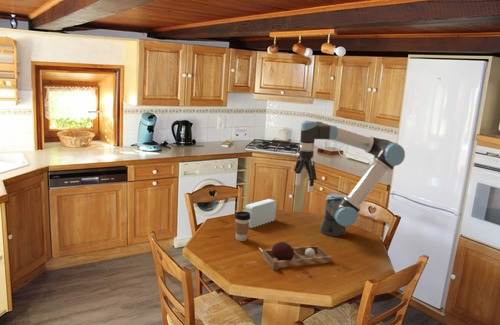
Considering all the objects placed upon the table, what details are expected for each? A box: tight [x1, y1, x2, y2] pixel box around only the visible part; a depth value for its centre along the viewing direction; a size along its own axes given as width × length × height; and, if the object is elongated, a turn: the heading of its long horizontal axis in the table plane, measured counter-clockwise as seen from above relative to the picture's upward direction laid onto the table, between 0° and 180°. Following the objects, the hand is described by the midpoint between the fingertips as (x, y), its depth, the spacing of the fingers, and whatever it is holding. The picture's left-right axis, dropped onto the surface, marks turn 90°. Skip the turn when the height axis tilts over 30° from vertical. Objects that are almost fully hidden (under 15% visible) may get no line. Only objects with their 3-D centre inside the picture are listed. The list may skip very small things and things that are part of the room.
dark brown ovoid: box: [271, 241, 294, 261], centre depth 218 cm, size 9×12×9 cm
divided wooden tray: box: [261, 245, 332, 271], centre depth 221 cm, size 31×14×4 cm, turn 110°
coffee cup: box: [234, 211, 250, 242], centre depth 243 cm, size 8×8×15 cm
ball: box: [305, 248, 315, 258], centre depth 224 cm, size 5×5×5 cm
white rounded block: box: [244, 198, 277, 229], centre depth 270 cm, size 23×6×13 cm, turn 138°
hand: (303, 188), depth 242 cm, fingers open, 13 cm apart
